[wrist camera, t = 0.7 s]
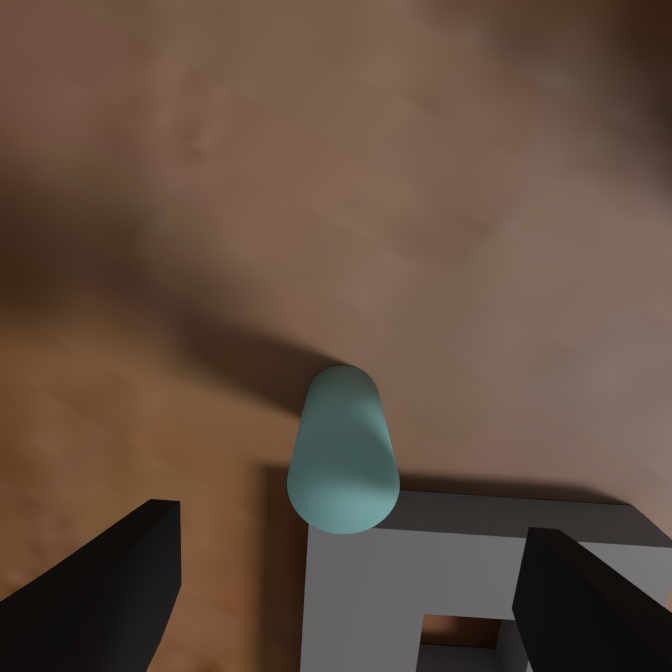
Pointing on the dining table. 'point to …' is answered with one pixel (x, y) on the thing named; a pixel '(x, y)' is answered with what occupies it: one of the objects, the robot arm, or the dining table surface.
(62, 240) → the dining table surface
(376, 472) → the peg
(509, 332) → the dining table surface
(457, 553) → the peg block
